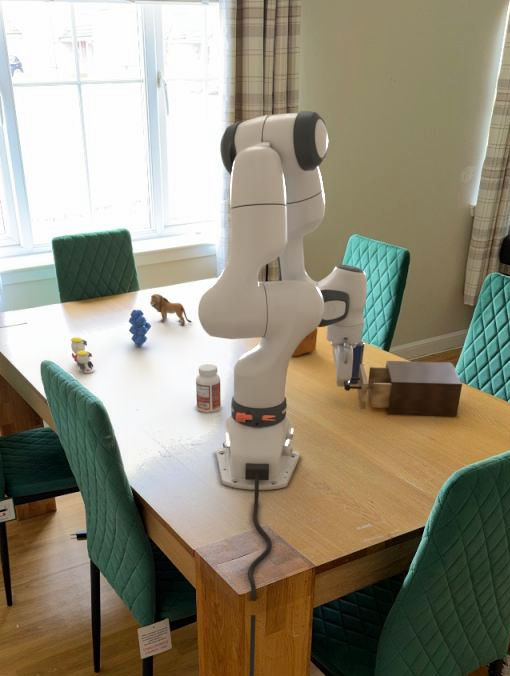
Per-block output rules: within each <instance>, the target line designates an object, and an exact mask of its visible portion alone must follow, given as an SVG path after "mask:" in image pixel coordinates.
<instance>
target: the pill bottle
mask: <svg viewBox="0 0 510 676" xmlns="http://www.w3.org/2000/svg"><path fill="white" fill-rule="evenodd" d="M195 393H196V394H195V395H196V408H197V410H199V411H200V412H203V413H213V412H217V411H218V410H220V409H221V407H222V405H221V402H222V400H221V377H220V375H218V366H217V365H215V364H211V363H206V364H201V365H199V366H198V375H197V376H196V377H195Z"/></svg>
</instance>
